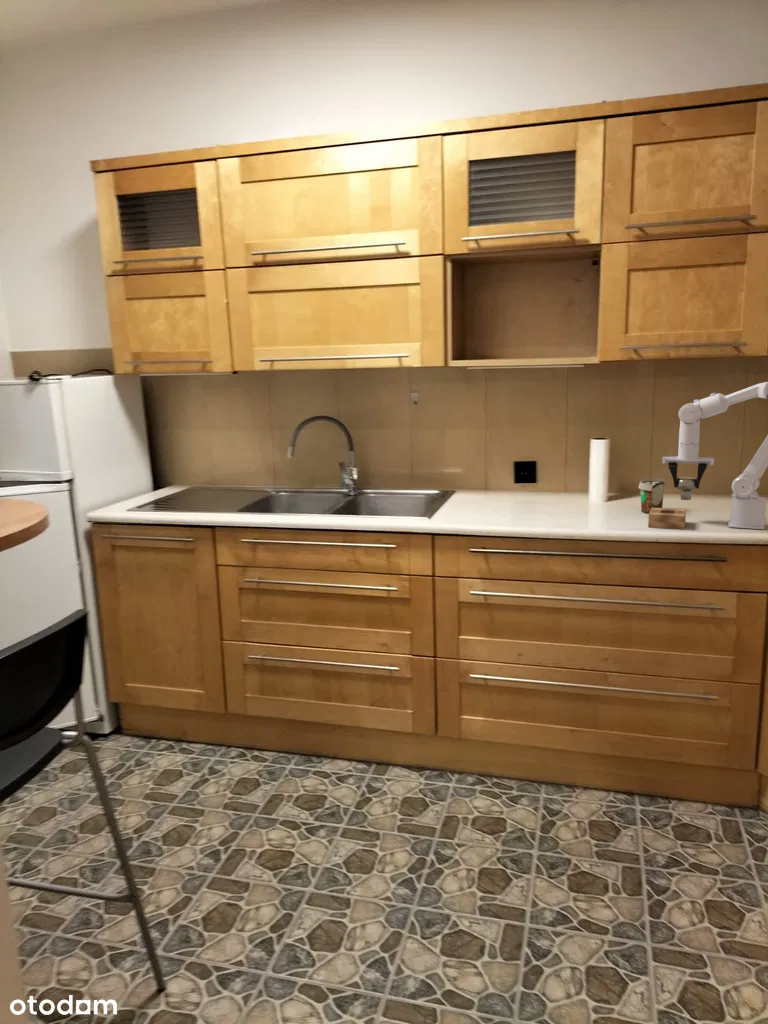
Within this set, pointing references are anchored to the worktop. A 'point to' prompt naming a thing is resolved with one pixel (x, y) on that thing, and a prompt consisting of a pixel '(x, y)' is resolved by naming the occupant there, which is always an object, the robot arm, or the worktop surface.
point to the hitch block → (667, 518)
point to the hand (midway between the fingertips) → (686, 487)
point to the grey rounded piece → (686, 486)
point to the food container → (651, 494)
